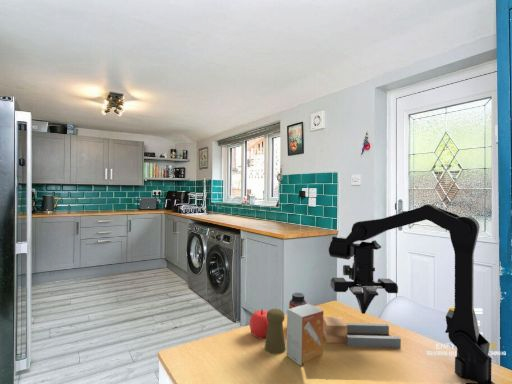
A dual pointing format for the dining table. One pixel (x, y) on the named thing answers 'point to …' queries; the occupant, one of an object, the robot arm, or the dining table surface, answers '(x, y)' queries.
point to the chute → (371, 340)
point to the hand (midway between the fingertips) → (362, 313)
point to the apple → (259, 323)
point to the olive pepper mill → (275, 332)
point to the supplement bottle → (297, 300)
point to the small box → (304, 333)
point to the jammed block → (335, 329)
